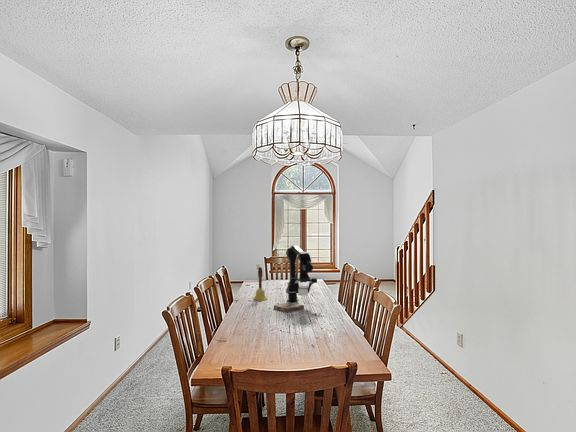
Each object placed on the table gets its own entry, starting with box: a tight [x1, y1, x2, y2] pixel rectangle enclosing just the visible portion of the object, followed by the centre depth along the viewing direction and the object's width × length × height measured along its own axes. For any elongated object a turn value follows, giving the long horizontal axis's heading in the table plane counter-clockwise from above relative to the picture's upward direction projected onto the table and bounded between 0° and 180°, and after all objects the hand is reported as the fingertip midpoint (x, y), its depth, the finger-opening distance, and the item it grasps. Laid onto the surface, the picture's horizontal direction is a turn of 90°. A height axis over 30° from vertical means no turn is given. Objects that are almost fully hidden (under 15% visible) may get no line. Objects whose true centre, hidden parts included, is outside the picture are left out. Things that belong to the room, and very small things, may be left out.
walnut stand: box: [273, 301, 305, 313], centre depth 274 cm, size 14×16×2 cm
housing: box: [297, 285, 309, 296], centre depth 277 cm, size 10×6×5 cm, turn 168°
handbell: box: [252, 266, 269, 302], centre depth 307 cm, size 12×12×25 cm
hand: (303, 292), depth 277 cm, fingers closed on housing, 6 cm apart
